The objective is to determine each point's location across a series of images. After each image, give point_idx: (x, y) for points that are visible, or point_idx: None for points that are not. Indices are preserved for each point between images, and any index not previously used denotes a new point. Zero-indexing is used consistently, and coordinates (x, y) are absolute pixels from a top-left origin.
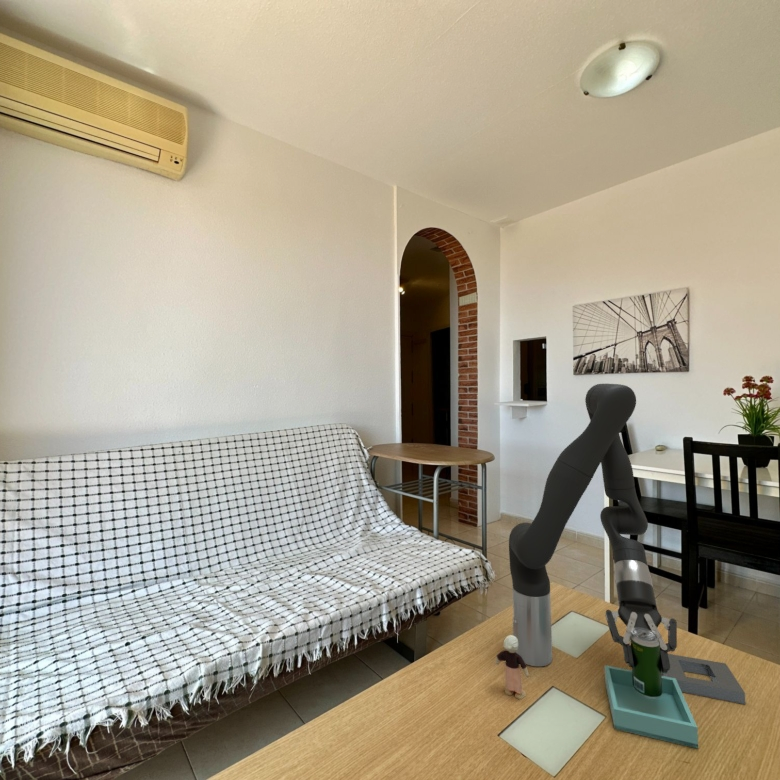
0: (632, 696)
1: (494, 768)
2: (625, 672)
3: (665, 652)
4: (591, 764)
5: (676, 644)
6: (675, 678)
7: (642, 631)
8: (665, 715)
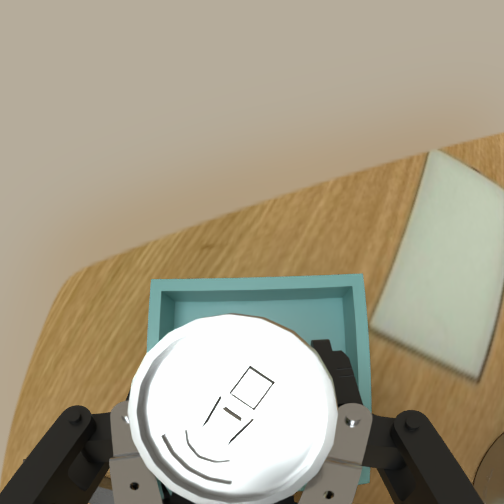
0: None
1: (490, 142)
2: None
3: None
4: (387, 180)
5: (58, 418)
6: None
7: (236, 470)
8: None
